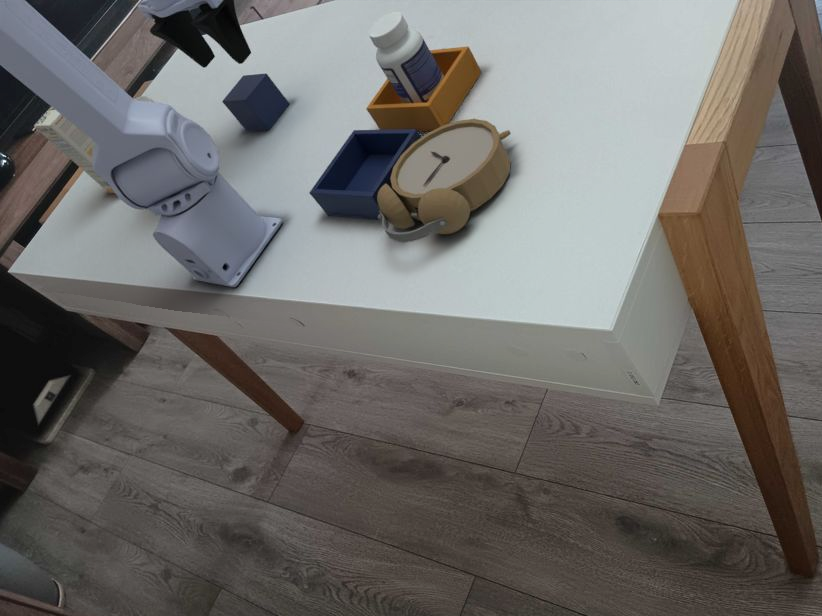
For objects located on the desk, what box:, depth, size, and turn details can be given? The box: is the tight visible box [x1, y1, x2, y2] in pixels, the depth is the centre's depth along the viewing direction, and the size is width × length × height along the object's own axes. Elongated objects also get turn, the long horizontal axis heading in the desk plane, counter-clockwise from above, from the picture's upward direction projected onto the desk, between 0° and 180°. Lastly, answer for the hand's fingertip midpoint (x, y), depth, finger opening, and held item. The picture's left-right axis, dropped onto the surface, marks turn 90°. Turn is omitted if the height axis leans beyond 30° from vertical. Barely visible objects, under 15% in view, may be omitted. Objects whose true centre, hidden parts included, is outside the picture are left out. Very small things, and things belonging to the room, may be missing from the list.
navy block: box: [221, 73, 290, 132], centre depth 99 cm, size 5×5×5 cm
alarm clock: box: [377, 118, 512, 243], centre depth 71 cm, size 11×5×15 cm
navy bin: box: [309, 129, 422, 220], centre depth 78 cm, size 9×9×3 cm
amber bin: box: [365, 46, 482, 132], centre depth 83 cm, size 9×9×3 cm
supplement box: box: [33, 106, 115, 194], centre depth 105 cm, size 8×5×13 cm, turn 152°
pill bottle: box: [368, 11, 444, 104], centre depth 80 cm, size 5×5×10 cm
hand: (226, 60), depth 93 cm, fingers open, 7 cm apart
